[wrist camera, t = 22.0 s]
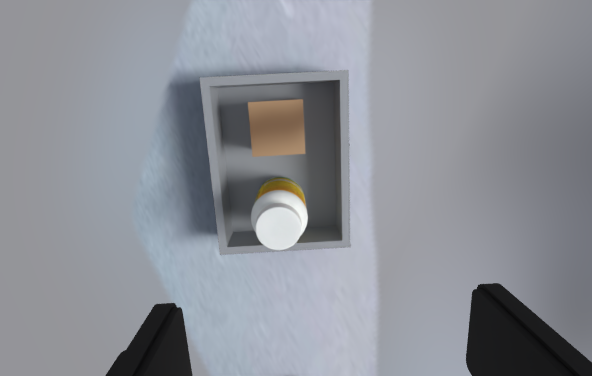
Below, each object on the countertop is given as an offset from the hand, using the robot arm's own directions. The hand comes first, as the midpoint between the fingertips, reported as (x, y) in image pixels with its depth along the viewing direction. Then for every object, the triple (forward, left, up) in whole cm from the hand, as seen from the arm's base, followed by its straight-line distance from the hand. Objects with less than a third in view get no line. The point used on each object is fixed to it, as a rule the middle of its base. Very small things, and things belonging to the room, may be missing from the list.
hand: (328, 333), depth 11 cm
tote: (-1, +2, -28) cm, 28 cm away
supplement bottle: (-4, -1, -28) cm, 28 cm away
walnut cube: (+2, +4, -28) cm, 28 cm away
